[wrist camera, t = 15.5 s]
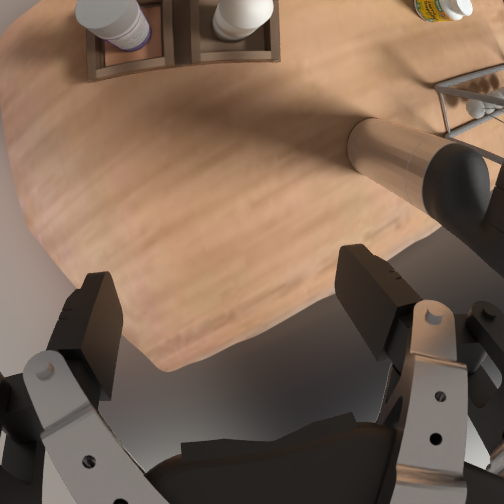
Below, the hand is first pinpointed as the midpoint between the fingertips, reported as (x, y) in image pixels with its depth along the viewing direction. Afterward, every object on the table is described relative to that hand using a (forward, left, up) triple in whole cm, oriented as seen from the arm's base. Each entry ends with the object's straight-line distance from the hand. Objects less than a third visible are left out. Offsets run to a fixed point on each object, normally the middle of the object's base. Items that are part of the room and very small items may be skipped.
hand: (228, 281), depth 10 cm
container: (+7, -15, -30) cm, 34 cm away
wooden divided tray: (+1, -15, -32) cm, 35 cm away
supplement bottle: (-37, -24, -32) cm, 54 cm away
